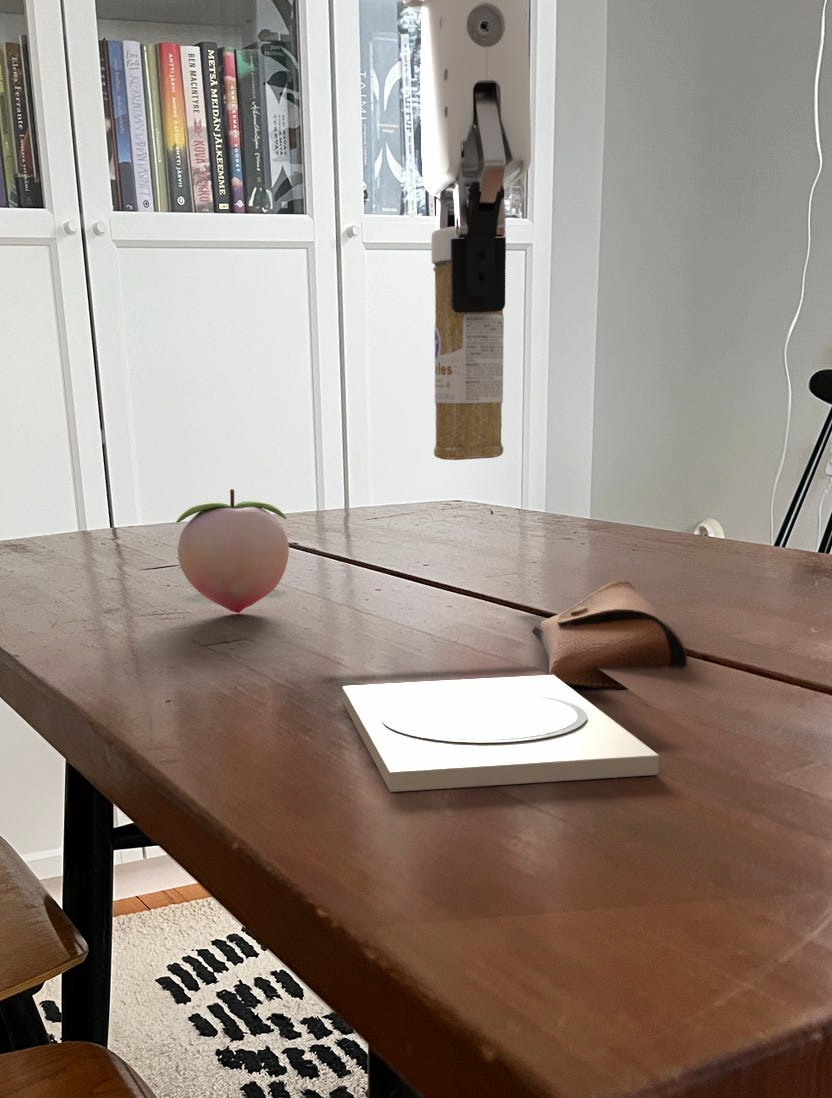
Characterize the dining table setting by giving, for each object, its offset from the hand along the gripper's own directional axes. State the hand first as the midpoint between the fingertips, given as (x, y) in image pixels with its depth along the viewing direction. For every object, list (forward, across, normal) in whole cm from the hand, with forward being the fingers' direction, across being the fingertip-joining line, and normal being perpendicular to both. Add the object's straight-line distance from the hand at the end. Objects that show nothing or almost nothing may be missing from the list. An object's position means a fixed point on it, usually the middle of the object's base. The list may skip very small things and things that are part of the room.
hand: (469, 310), depth 78 cm
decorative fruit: (+22, +23, +15) cm, 35 cm away
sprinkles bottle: (+9, 0, 0) cm, 9 cm away
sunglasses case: (+22, -2, -8) cm, 24 cm away
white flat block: (+22, -19, +3) cm, 29 cm away
